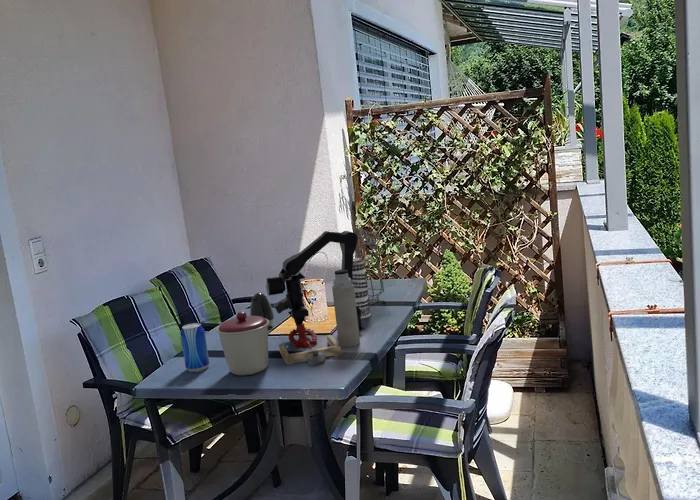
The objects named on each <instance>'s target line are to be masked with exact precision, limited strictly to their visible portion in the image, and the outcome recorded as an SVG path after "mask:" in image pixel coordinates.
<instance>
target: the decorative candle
mask: <svg viewBox="0 0 700 500" xmlns="http://www.w3.org/2000/svg"><path fill="white" fill-rule="evenodd" d="M364 263H365V261H363V260H362V258H361V257H359V258H358V257H353V275H352V284H354V293H355V302H356V307H358V308H359V309H360V310H361V315H360V317H361V320H362V319H366V318H369V317H370V316H371V315H372V314H371V310H370V309H371V306H370V305H369V304H370V301H369V299H370V298H369V299H368V295H369V294H368V295H367V289H368V288H369V285H368V281H367V282H366V280H365V279H367V280H368V277H367V276H368V273H365V271H366V267H365V268H364ZM365 276H366V277H365ZM366 284H367V285H366ZM368 290H369V289H368Z"/></svg>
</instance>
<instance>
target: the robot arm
mask: <svg viewBox="0 0 700 500" xmlns="http://www.w3.org/2000/svg"><path fill="white" fill-rule="evenodd" d="M353 232H354V231H353ZM353 232H352V231H350V230H343V231H342V232H336V231H328V230H326V231H323V232H322V233H321V235H319V236H318V237H317V238H315V239H314V240H313V241H312V242H311V243H309V244H308V245H307V246H306V247H305V248H304V249H302V250H301V251H299V252H298V253H296V254H293V255H291V256H289V257H288V258H286V259H285V260H284V261H283V263H282V268H281V270H280V272H279V273H278V276H273V277H266V282H265V283H266V285H265V288H266V292H267V296H269V297H270V296H274V295H280V294H284V292H285V291H286V294H285V298H283V299H280V300H279V301H277V302H275V303H274V304H273V307H274V309H275V310H276V313H277V314H281V313H283V312H284V311H287V310H289V311H288V312H287V313H288V314H289V316H290V318H292V319H293V320H294V323H295V327H296V328H298V325H299V324H304V320H305V317H309V315H310V313H309V310H308V309H307V308H306V307H305V303H304V299H303V297H304V293H303V292H302V284H301V280H304V279H305V278H306V276H304V275H303V273H302V272H300V271H302V269H303V268H304V266H305V265H306V263H307V262H308V261H309V260H310V259H312V258H313V257H314V256H316V254H318V252H320V251H321V250H322V249H323V248H325V246H327V245H328V244H329V243H337V244H339V243H340V244H339V248H340V251H341V270H348V277H349V278H351V280H352V275H353V258H354V257H353V256H354V254H355V252H356V251H355V250H356V249H357V247H358V246H357V245H358V240H359V238H358V237H359V236H358V237H357V235H356V234H355V233H353ZM351 283H352V281H351ZM356 310H357V319H358V328H359V331H361V330H364V328H363V326H362V319H361V317H360V315H361V310H360V309H359V308H358V307H356Z"/></svg>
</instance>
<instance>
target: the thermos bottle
mask: <svg viewBox="0 0 700 500" xmlns="http://www.w3.org/2000/svg"><path fill="white" fill-rule="evenodd" d="M334 278H335V279H333V280H332V281H333V283H332V288H331V289H332V297H333V304H334V306H333V307H334V314H335V323H336V331H337V340H338V341H337V342H338V343H339V345H340V346H341V348H342V347H343V348H351V347H355V346H358V345H360V343H361V339H360V330H359V328H358V319H357V310H356V302H355V293H354V284H352V283H351V281H352V280H351V278H349V277H348V270H342V269H338V270H335V271H334Z"/></svg>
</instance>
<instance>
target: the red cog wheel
mask: <svg viewBox="0 0 700 500" xmlns="http://www.w3.org/2000/svg"><path fill="white" fill-rule="evenodd" d="M297 334H298V338H297V340H296V339H295V337H294V336H295V335H297ZM308 335H310V336H311V339H310V338H309V337H308ZM288 340H289V343H291V345H293V346H294V349H295V350H296V349H299V350H300V349H313V348H314V346H315V345H317V344H318V342H317V341H318V334H317V333H316V332H314V330H312V329H311V328H307V327H306V326H305V323H303V324H299V325H298V328H297V327H296V328H292V330H290V332H289V333H288Z"/></svg>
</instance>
